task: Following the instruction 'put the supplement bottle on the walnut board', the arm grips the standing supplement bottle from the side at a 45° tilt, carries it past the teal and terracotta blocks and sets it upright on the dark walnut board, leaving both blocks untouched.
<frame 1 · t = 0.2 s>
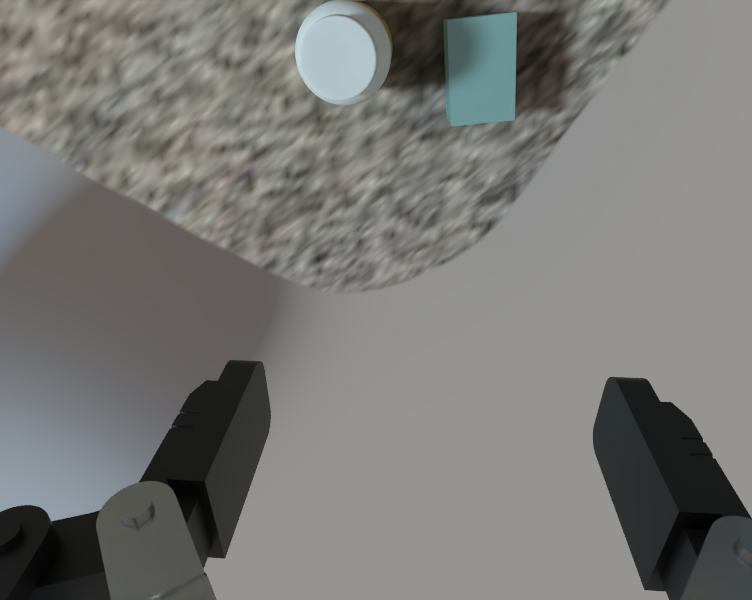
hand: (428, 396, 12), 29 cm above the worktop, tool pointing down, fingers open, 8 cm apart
teal block: (474, 66, 35), on the worktop
supplement bottle: (353, 47, 35), on the worktop
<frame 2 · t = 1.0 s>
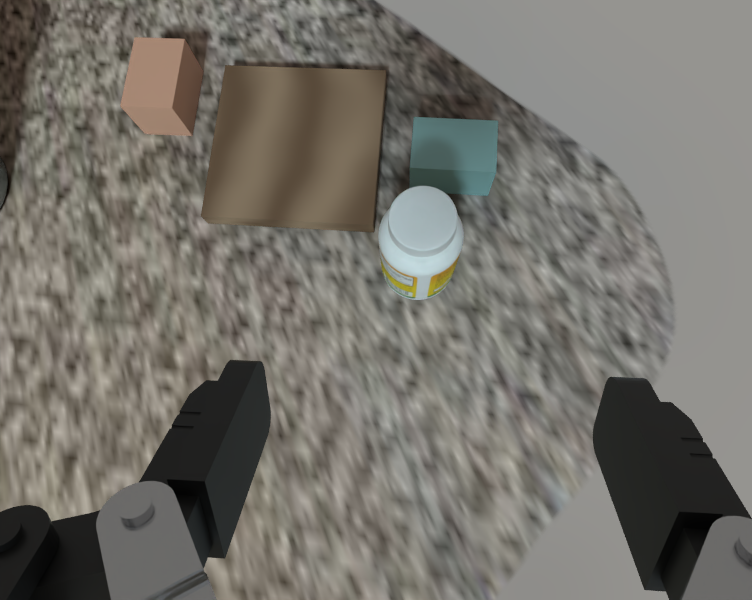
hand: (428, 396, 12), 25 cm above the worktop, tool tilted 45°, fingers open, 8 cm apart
walnut board: (299, 151, 42), on the worktop
teal block: (449, 170, 41), on the worktop
supplement bottle: (418, 267, 39), on the worktop
terracotta block: (175, 103, 44), on the worktop
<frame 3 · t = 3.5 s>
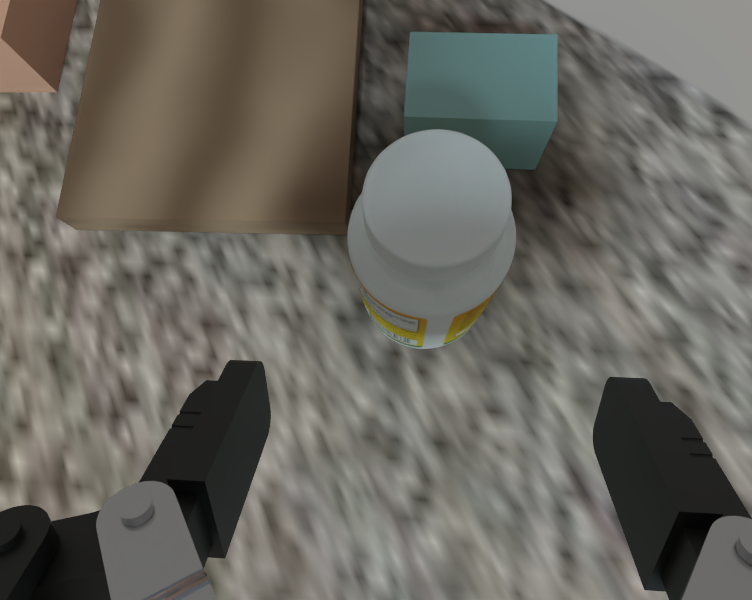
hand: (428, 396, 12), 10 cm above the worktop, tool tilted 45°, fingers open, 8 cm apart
walnut board: (226, 108, 26), on the worktop
teal block: (470, 130, 25), on the worktop
supplement bottle: (424, 291, 23), on the worktop
terracotta block: (33, 44, 28), on the worktop
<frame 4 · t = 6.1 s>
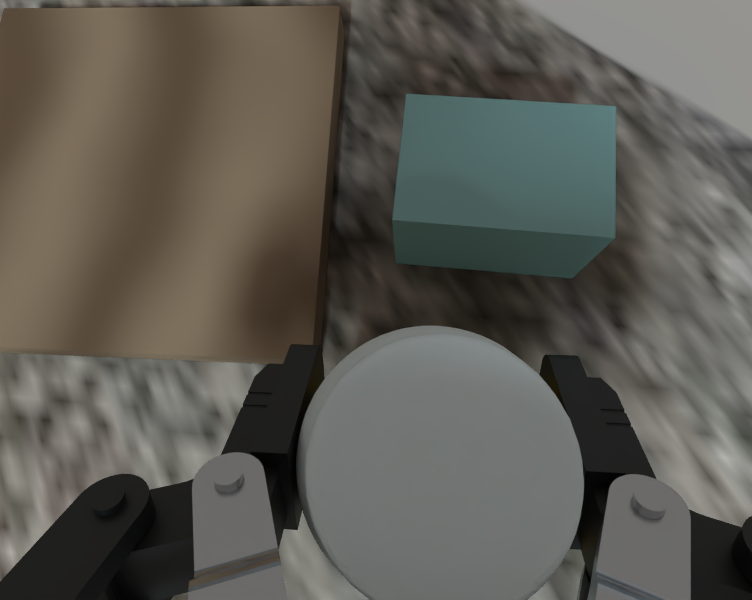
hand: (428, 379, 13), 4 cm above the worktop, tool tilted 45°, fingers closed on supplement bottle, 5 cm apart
walnut board: (160, 184, 20), on the worktop
teal block: (485, 218, 19), on the worktop
supplement bottle: (422, 448, 17), on the worktop, touching gripper
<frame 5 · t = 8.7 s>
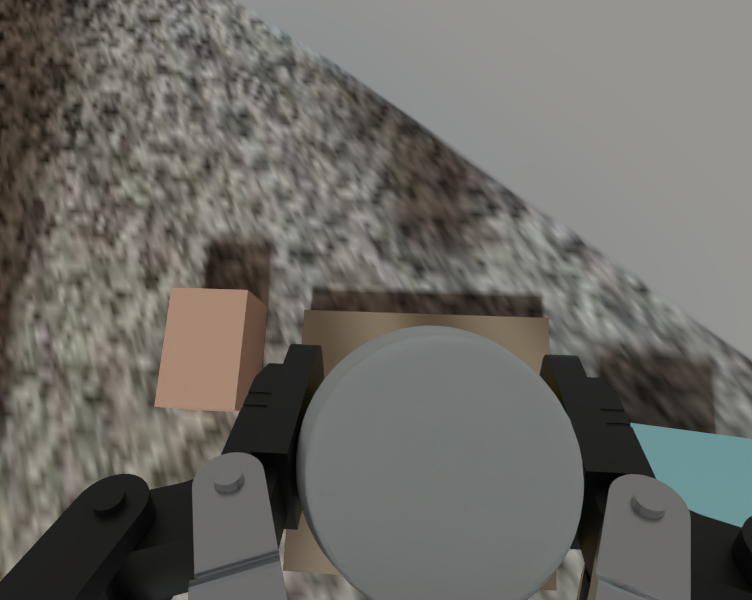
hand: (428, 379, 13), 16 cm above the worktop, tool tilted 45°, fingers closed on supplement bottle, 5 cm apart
walnut board: (420, 438, 28), on the worktop
teal block: (653, 470, 27), on the worktop
supplement bottle: (422, 448, 17), point 11 cm above the worktop, touching gripper
terracotta block: (229, 357, 30), on the worktop
when the fingers open (7 cm above the worktop, at t = 11.2 s): supplement bottle drops 1 cm, resting on walnut board.
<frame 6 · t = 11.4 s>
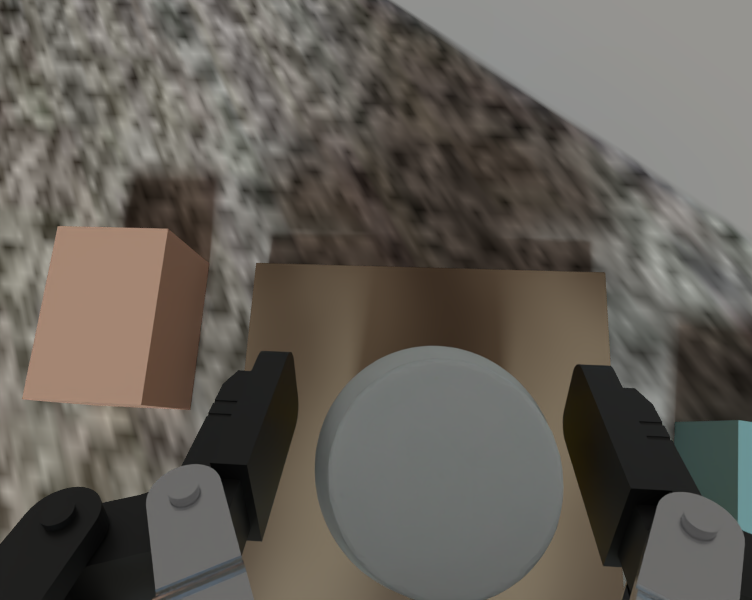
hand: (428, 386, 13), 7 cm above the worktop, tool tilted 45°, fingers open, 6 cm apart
walnut board: (420, 446, 20), on the worktop
supplement bottle: (425, 453, 18), point 1 cm above the worktop, touching walnut board
terracotta block: (153, 332, 21), on the worktop
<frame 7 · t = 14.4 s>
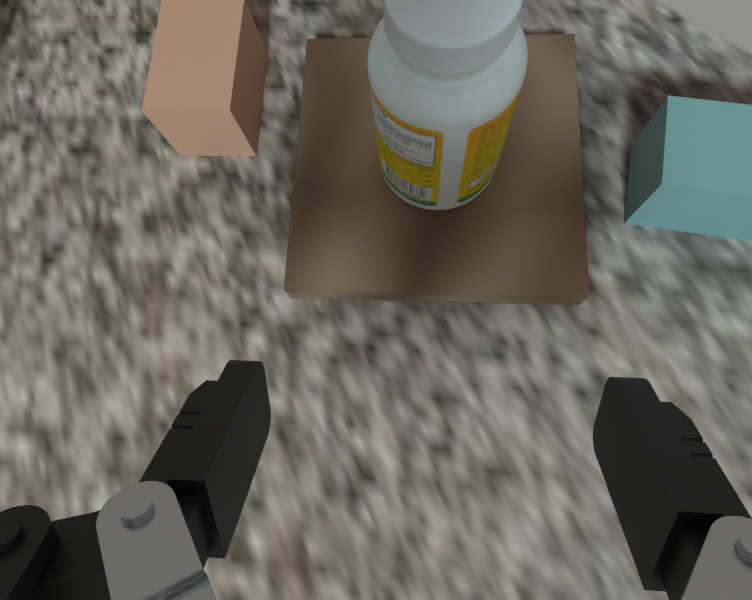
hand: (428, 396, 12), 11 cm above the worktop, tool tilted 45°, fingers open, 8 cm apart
walnut board: (434, 171, 26), on the worktop
teal block: (693, 194, 24), on the worktop
supplement bottle: (438, 161, 24), point 1 cm above the worktop, touching walnut board
terracotta block: (225, 105, 28), on the worktop
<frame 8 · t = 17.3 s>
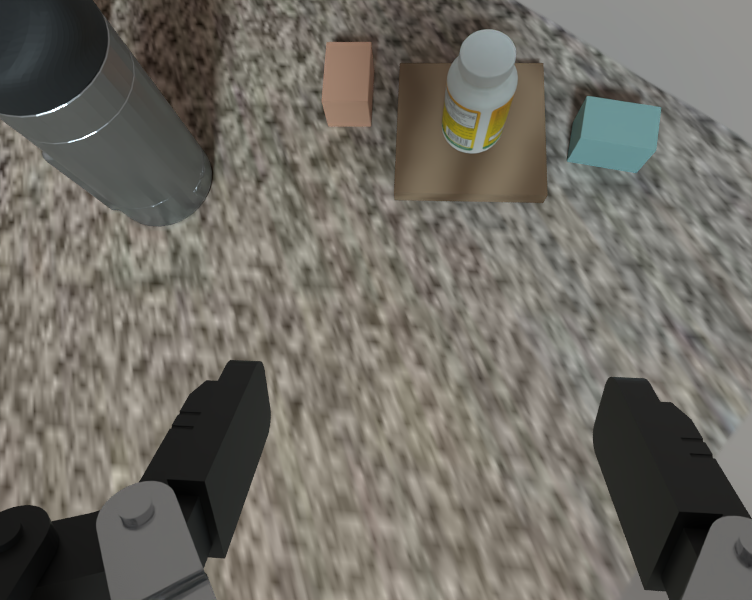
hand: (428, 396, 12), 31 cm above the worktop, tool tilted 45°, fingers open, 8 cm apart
walnut board: (468, 135, 48), on the worktop
teal block: (603, 147, 47), on the worktop
supplement bottle: (471, 129, 47), point 1 cm above the worktop, touching walnut board
terracotta block: (351, 99, 50), on the worktop
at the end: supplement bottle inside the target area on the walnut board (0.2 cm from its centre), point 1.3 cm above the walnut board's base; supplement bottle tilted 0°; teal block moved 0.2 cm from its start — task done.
